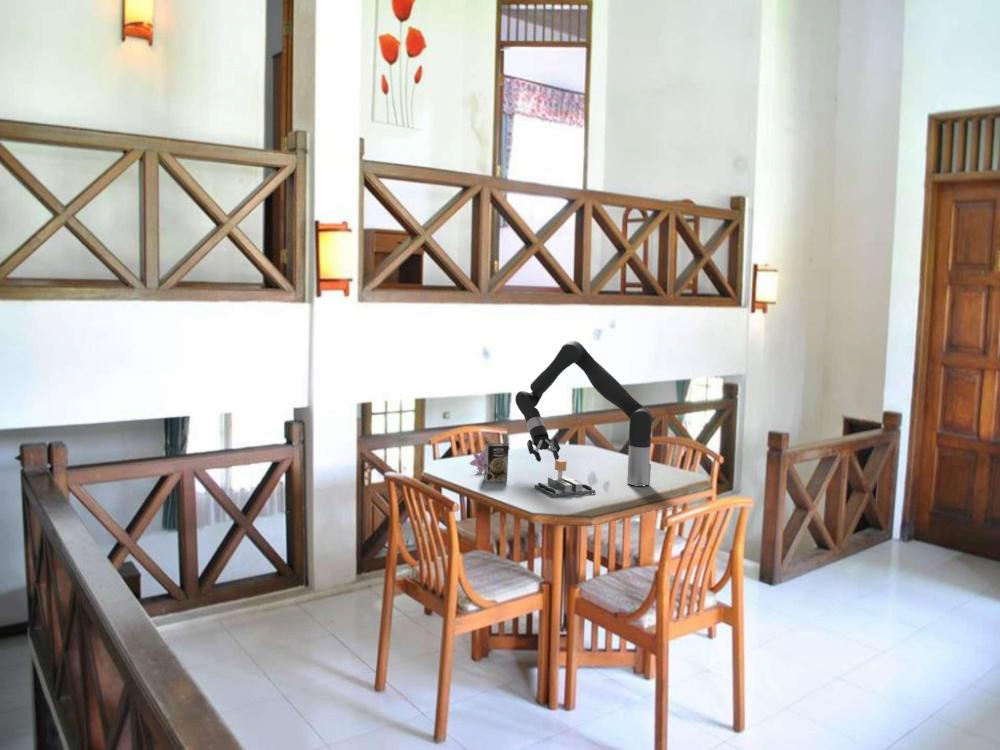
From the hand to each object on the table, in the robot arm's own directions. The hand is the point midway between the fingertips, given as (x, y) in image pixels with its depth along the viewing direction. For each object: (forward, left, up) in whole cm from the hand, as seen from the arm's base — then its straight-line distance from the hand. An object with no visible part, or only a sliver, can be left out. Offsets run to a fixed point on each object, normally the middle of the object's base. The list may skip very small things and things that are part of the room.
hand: (548, 460), depth 357 cm
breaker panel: (-5, +14, -10) cm, 18 cm away
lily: (+27, -18, -10) cm, 34 cm away
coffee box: (+22, -3, -10) cm, 25 cm away
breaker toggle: (-3, +10, -8) cm, 13 cm away
